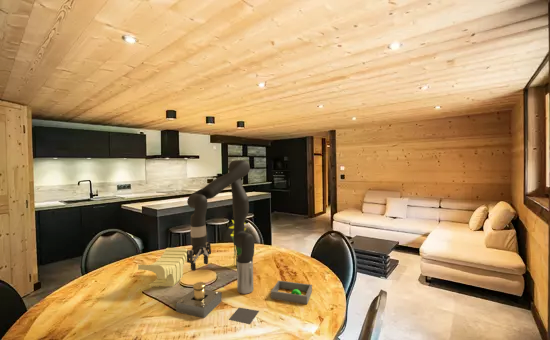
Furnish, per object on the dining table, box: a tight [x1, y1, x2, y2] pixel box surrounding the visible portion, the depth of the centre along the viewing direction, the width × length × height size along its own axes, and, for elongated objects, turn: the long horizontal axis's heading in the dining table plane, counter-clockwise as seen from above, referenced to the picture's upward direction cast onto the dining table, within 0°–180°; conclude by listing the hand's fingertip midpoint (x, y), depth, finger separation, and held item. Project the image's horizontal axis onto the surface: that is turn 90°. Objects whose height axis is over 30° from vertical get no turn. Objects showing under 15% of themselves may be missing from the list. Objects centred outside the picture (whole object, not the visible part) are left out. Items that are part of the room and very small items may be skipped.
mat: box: [228, 307, 260, 325], centre depth 126 cm, size 11×11×1 cm
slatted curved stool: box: [137, 247, 188, 287], centre depth 161 cm, size 30×16×18 cm, turn 173°
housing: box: [175, 289, 222, 319], centre depth 134 cm, size 16×16×6 cm
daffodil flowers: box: [228, 219, 250, 268], centre depth 186 cm, size 17×15×35 cm
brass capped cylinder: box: [192, 281, 206, 301], centre depth 134 cm, size 6×6×11 cm
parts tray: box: [270, 280, 313, 305], centre depth 145 cm, size 14×20×4 cm
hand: (199, 267), depth 129 cm, fingers open, 8 cm apart
